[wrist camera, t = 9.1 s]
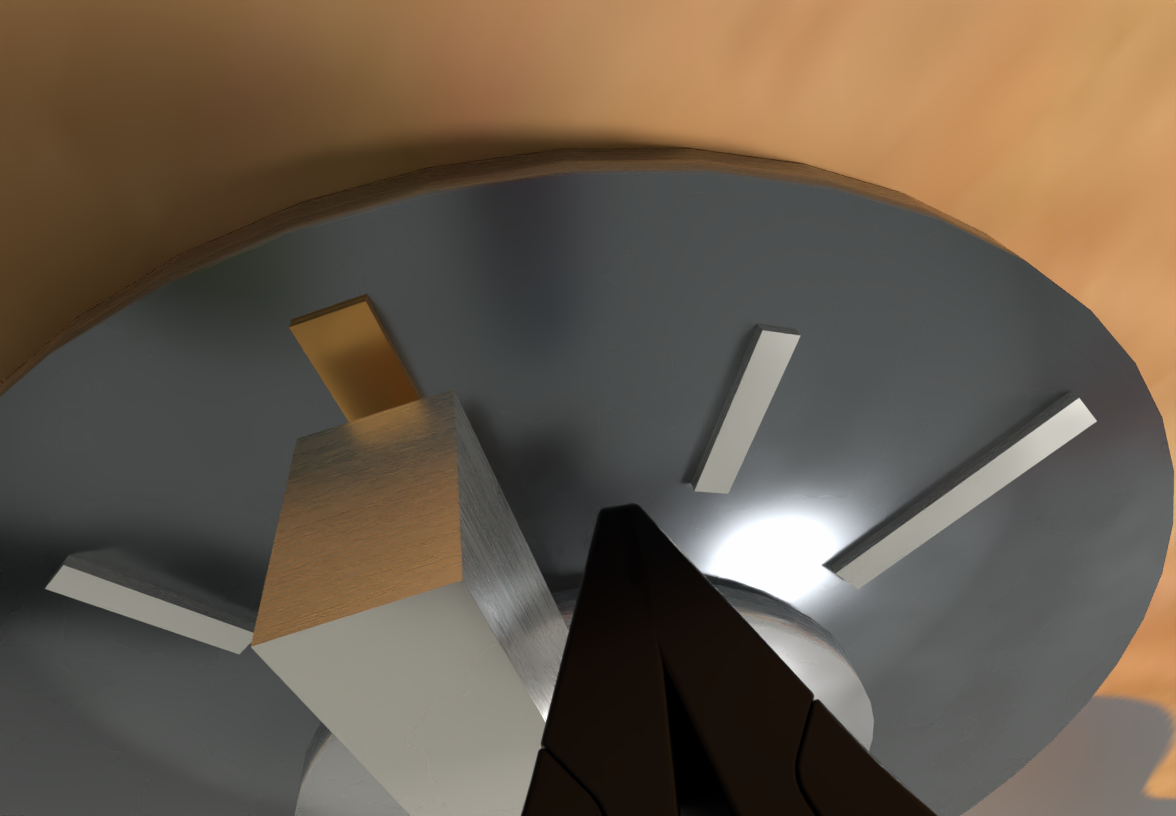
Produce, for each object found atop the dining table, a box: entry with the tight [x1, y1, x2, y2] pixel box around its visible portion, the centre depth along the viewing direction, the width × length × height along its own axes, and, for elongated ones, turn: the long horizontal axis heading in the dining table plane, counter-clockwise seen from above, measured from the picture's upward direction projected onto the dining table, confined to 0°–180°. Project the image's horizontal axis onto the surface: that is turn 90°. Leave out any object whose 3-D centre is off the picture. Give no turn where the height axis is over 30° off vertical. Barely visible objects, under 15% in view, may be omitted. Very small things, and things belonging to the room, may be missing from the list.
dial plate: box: [0, 149, 1174, 816], centre depth 17 cm, size 26×26×1 cm
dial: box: [251, 389, 874, 816], centre depth 13 cm, size 17×12×4 cm
